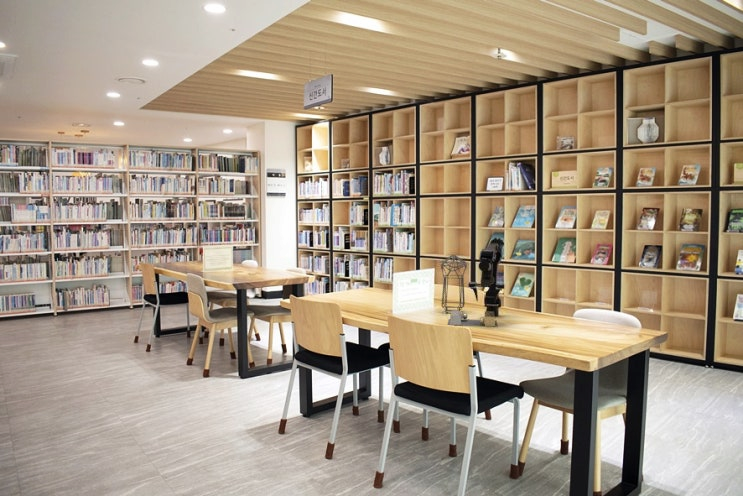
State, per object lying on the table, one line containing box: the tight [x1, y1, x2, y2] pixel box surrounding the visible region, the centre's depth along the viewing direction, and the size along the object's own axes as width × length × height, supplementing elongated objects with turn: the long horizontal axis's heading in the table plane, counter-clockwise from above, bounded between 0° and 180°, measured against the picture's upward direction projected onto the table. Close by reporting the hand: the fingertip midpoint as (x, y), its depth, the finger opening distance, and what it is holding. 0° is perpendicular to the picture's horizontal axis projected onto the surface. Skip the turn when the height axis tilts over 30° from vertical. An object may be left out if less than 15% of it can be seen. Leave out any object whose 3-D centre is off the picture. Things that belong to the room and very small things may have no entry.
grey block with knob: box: [449, 309, 468, 327], centre depth 314 cm, size 16×9×5 cm, turn 170°
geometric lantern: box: [440, 254, 468, 314], centre depth 348 cm, size 16×16×35 cm
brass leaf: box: [479, 310, 496, 328], centre depth 312 cm, size 16×8×5 cm, turn 170°
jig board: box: [447, 318, 499, 328], centre depth 313 cm, size 18×26×1 cm
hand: (485, 301), depth 311 cm, fingers open, 9 cm apart
